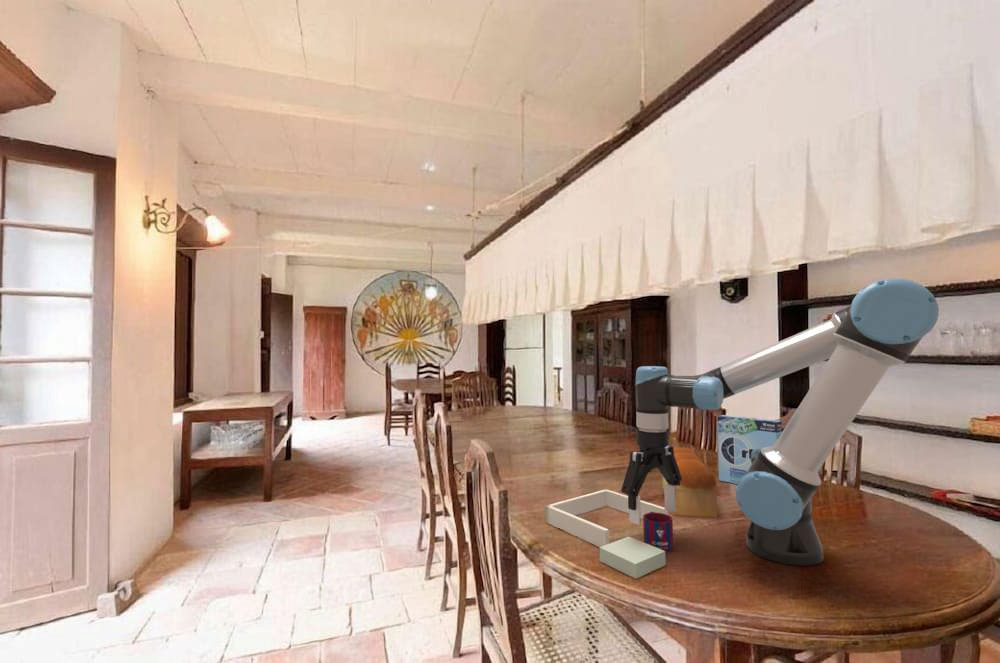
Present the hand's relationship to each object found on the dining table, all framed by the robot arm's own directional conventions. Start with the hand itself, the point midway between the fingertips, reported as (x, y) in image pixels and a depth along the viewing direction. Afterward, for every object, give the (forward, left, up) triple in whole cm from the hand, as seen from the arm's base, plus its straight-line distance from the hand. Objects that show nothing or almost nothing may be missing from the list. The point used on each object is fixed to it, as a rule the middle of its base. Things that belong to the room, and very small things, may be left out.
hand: (653, 516), depth 111 cm
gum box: (+10, -65, -7) cm, 66 cm away
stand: (-3, +12, -6) cm, 14 cm away
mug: (0, -1, -7) cm, 7 cm away
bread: (+13, -33, -7) cm, 36 cm away
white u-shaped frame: (+16, 0, -6) cm, 17 cm away
